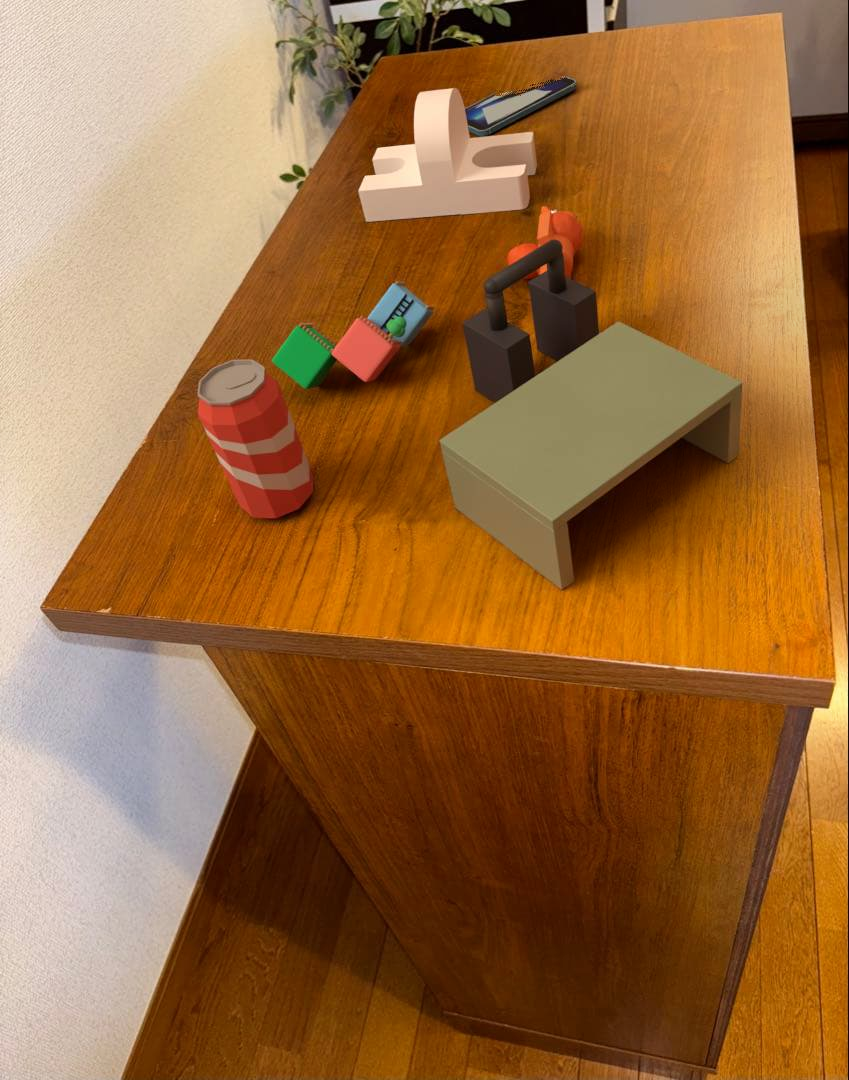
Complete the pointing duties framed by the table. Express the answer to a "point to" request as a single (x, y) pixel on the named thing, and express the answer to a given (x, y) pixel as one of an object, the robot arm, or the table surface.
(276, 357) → the building blocks
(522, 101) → the smartphone
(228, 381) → the beverage can
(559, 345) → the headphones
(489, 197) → the white thick notched block
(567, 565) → the shelf
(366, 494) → the table surface
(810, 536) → the table surface
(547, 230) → the orange toy bird
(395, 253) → the table surface
